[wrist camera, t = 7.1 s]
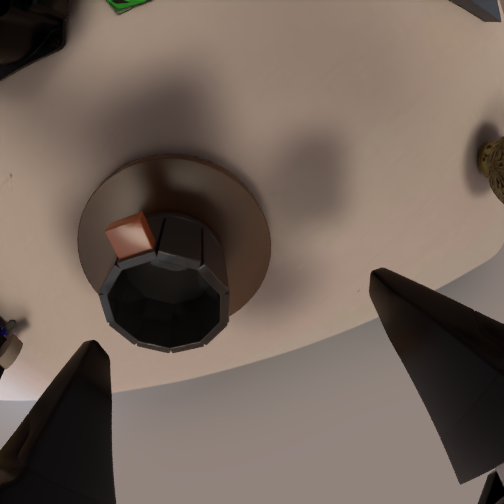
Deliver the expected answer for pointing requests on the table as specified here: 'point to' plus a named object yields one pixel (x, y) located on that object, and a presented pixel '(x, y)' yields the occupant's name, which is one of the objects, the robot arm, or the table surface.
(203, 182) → the turntable
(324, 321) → the table surface
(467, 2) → the button box
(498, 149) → the cup
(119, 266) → the black faceted container
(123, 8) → the toy car
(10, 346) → the figurine character
